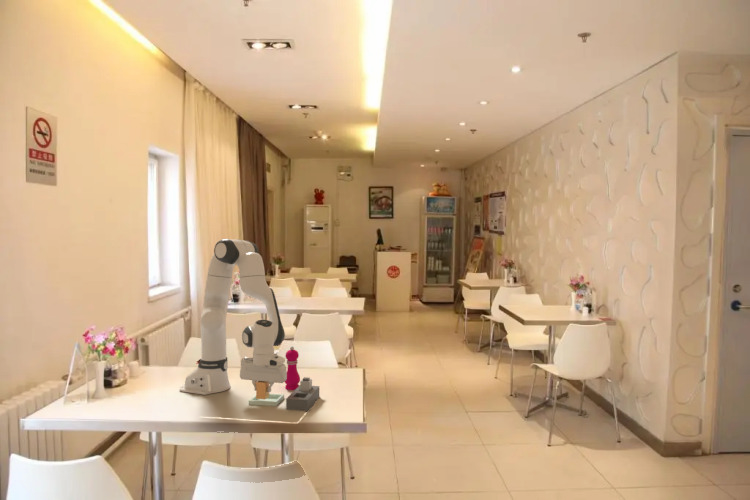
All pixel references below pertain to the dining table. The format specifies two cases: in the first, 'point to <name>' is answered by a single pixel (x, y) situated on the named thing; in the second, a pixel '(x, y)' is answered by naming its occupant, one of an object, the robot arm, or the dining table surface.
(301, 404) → the socket strip
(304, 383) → the twin plug
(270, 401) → the tray
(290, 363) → the pepper mill
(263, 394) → the plug
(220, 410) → the dining table surface
